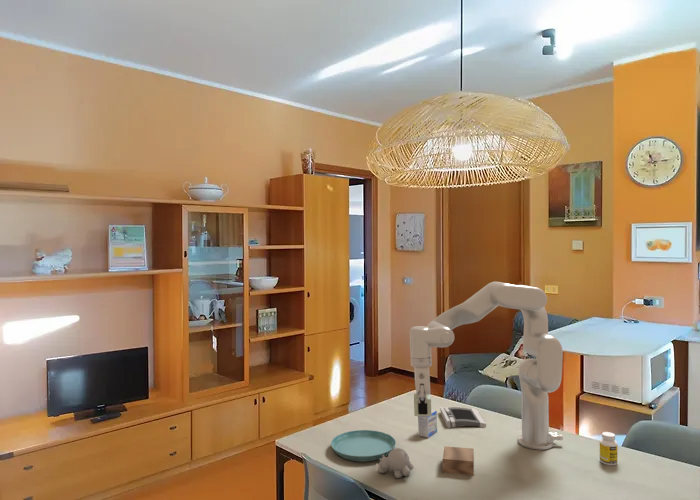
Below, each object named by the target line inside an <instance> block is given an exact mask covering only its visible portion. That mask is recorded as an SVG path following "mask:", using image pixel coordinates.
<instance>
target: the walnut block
mask: <svg viewBox="0 0 700 500" xmlns="http://www.w3.org/2000/svg"><path fill="white" fill-rule="evenodd" d="M443 447H444V448H443V452H442V453H443V455H442V474H453V475H463V476H465V475H466V476H475V473H474V472H475V471H474V470H475V469H474V468H475V458H474V457H475V454H474V453H475V452H474V448H473V447H471V448H469V447H461V446H460V447H457V446H443Z"/></svg>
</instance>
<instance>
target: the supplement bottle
mask: <svg viewBox="0 0 700 500" xmlns="http://www.w3.org/2000/svg"><path fill="white" fill-rule="evenodd" d="M601 437H602V438H600V440H599V462H601V463H602V464H604V465H605V466H616V465H617V464H618V442H617V440H616V434H615V433H613V432H610V431H603V432H602V433H601Z"/></svg>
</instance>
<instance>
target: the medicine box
mask: <svg viewBox="0 0 700 500" xmlns="http://www.w3.org/2000/svg"><path fill="white" fill-rule="evenodd" d="M431 414H432V416H417V427H418V429H417V430H418V436H420V437H422V438H423V437H424V438H428V439H429V438H430V437H432V435H434V434H436V433H437V432H438V413H437V410H435V409H431ZM435 432H436V433H435Z"/></svg>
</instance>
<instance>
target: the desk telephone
mask: <svg viewBox="0 0 700 500" xmlns="http://www.w3.org/2000/svg"><path fill="white" fill-rule="evenodd" d="M439 410H440V414H441V417H442V418H443V421H444V423H445V426H446V427H447V428H448V429H451V428H456V427H465V426H469V427H471V426H472V427H479V428H486V427H487V422H486V420H485V419H484V417H483V416H482V415H481V414H480V412H479V411H478V410H477V409H476V408H473V407H471V408H467V407H457V406H456V407H454V406H453V407H447V406H445V407H444V406H440V407H439Z"/></svg>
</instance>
